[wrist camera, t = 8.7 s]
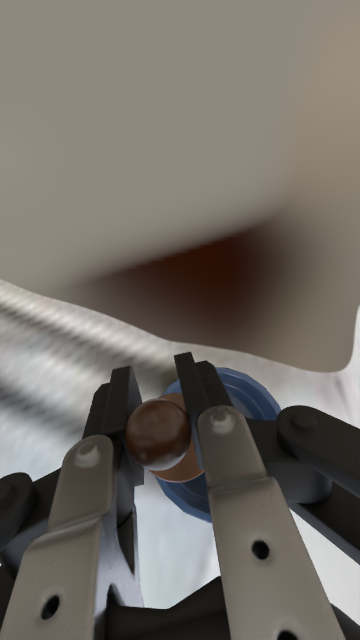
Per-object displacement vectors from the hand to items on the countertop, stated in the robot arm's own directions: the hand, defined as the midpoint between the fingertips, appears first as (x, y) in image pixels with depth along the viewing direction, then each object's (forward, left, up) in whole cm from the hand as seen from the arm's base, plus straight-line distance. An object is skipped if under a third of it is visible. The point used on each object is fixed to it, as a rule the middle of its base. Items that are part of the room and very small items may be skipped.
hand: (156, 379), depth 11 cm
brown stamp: (+1, -2, -9) cm, 10 cm away
